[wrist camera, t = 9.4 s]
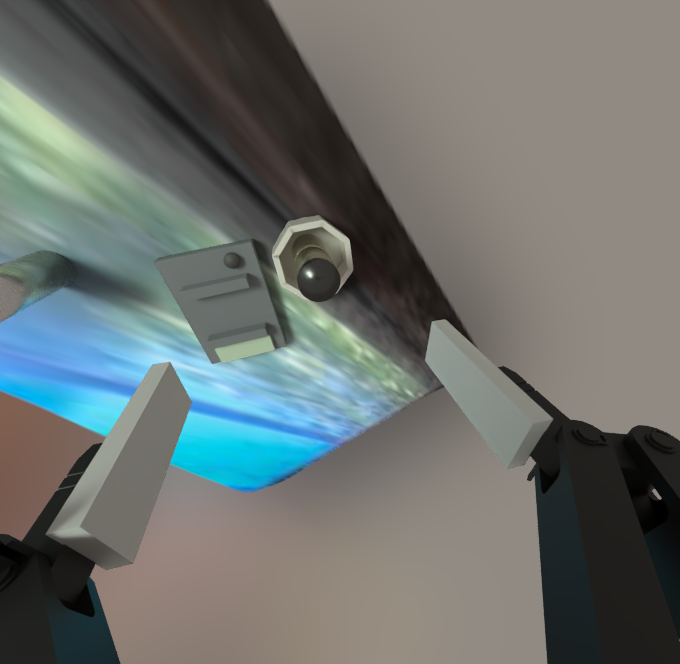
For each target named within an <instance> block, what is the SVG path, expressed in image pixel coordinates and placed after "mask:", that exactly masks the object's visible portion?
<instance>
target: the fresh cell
mask: <svg viewBox="0 0 680 664" xmlns="http://www.w3.org/2000/svg"><path fill="white" fill-rule="evenodd" d="M75 278H76V271H75V269H74V267H73V265H72V264H71V263H70V262H69V261H68V260H67V259H66V258H64V257H63V256H61V255H59V254H57V253H54V252H51V251H37V252H34V253H32V254H29V255H26V256H23V257H20V258H17V259H14V260H11V261H9V262H6V263H3V264H0V322H2V321H4V320H6V319H7V318H9V317H11V316H13V315H15V314H16V313H18V312H20V311H22V310H24V309H25V308H27V307H29V306H31V305H33V304H34V303H36V302H38V301H40V300H42V299H43V298H45V297H47V296H49V295H51V294H52V293H54V292H56V291H58V290H60V289H61V288H63V287H65V286H67V285H69V284H70V283H72V282H73V281H74V280H75Z"/></svg>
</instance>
